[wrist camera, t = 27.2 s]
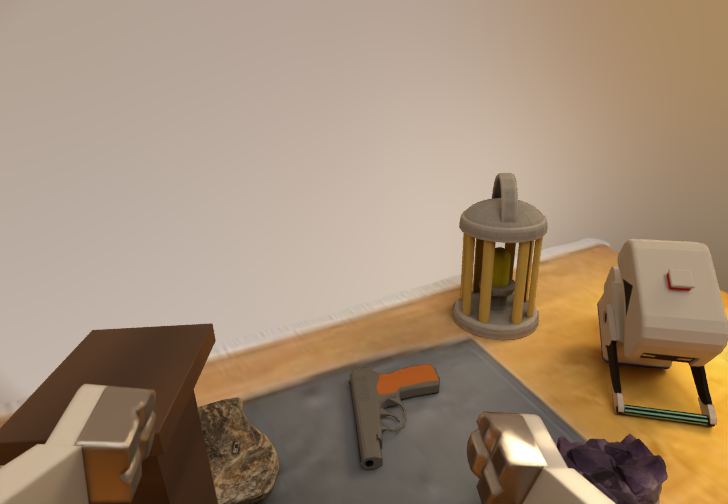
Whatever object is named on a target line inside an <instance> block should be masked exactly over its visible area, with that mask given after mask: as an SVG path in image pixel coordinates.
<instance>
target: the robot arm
mask: <svg viewBox="0 0 728 504" xmlns="http://www.w3.org/2000/svg"><path fill="white" fill-rule="evenodd" d="M155 403H156V393H155V390H152V389H141V388H130V387H119V386H104V385H93V384H84V385H83V386H81V387H80V388H79V389H78V390H77V392H76V394H75V395H74V397H73V399H72V400H71V402H70V404H69V405H68V407H67V409H66V410H65V412H64V414H63V415H62V417H61V418H60V420H59V422H58V423H57V425H56V427H55V428H54V430H53V432H52V433H51V435H50V437H49V438H48V440H47V441H46V443H45V444H37V445H35V446H34V447H32V448H30V449H29V450H27V451H26V452H24V453H23V454H21V455H20V456H18V457H17V458H15V459H13V460H12V461H10V462H9V463H7V464H6V465H4V466H3V467H1V468H0V504H89V503H132V500H133V497H134V494H135V492H136V489H137V486H138V484H139V481H140V478H141V475H142V465H141V462H142V461H144V460H145V459H146V458H147V457H148V456H149V453H150V450H151V447H152V444H153V440H154V436H155V430H156V414H155V413H154V412H153V411H152V410H153V408H154V405H155ZM476 422H477V424H478V427H479V428H478V429H476V430H475V431H474V432H472V433H471V435H470V437H469V440H468V444H467V457H468V462H469V466H470V469H471V471H472V472H473V473H474V474H475V475H476V476H477V477H478V478H479V481H478V484H477V490H478V493H479V496H480V498H481V501H482V504H616V503H614V502H613V501H612V500H611V499H609V498H608V497H607V496H606V495H605V494H603V493H602V492H601V491H600V490H599V489H597V488H596V487H595V486H594V485H593V484H591V483H590V482H589V481H588V480H586V479H585V478H584V477H583V476H582V475H580V474H579V473H578V472H577V471H576V470H574V469H571V468H568V467H567V465H566V464H565V462H564V460H563V458H562V456H561V454H560V453H559V451H558V449H557V447H556V445H555V444H554V442H553V440H552V438H551V436H550V434H549V433H548V431H547V429H546V427H545V425H544V424H543V422H542V420H541V418H540V417H539V416H537V415H532V414H516V413H500V412H482V413H481V414H480V415H479V417H478V419H477V421H476Z"/></svg>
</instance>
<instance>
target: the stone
mask: <svg viewBox="0 0 728 504" xmlns="http://www.w3.org/2000/svg"><path fill="white" fill-rule="evenodd" d="M198 412H199V417H200V421H201V426H202V431H203V435H204V440H205V445H206V449H207V454H208V459H209V463H210V468H211V472H212V477H213V482H214V486H215V491H216V496H217V500H218V504H255V503H259V502H262V501H263V500H265V499H266V498H267V497H268V496H269V494H270V493H271V490H272V489H273V486H274V483H275V480H276V477H277V474H278V471H279V459H278V455H277V452H276V450H275V448H274V445H273V444H272V443H271V442H270V441H269V439H268V438H267V437H266V435H265V434H263V433H261V432H260V431H258V430H257V429H256V428H255V427H254V426H252V425H251V424H250V423H249V421H248V419H247V418H246V416H245V415H244V411H243V402H242V399H241V398H231V399H225V400H221V401H217V402H214V403H210V404H207V405H204V406H201V407H198Z"/></svg>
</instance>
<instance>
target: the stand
mask: <svg viewBox="0 0 728 504" xmlns="http://www.w3.org/2000/svg"><path fill="white" fill-rule="evenodd" d="M214 343H215V335H214V330H213V325H212V324H198V325H197V324H196V325H178V326H160V327H143V328H124V329H105V330H92V332H90V334H89V335H88V336H87V337H86V338H85V339H84V340H83V341H82V342H81V343H80V344H79V345H78V346H77V347H76V348H75V349H74V351H73V352H72V353H71V354H70V355H69V356H68V357H67V358H66V359H65V360H64V361H63V362H62V363H61V364H60V365H59V367H58V368H57V369H56V370H55V371H54V372H53V373H52V374H51V375H50V376H49V377H48V378H47V379H46V380H45V381H44V382H43V383H42V385H41V386H40V387H39V388H38V389H37V390H36V391H35V392H34V393H33V394H32V395H31V396H30V397H29V398H28V399H27V400H26V402H25V403H24V404H23V405H22V406H21V407H20V408H19V409H18V410H17V411H16V412H15V413H14V414H13V415H12V416H11V417H10V419H9V420H8V421H7V422H6V423H5V424H4V425H3V426H2V427H1V428H0V465H6V464H7V463H9V462H10V461H12V460H13V459H15V458H17V457H18V456H20V455H21V454H23V453H24V452H26V451H27V450H29V449H30V448H32V447H34V446H35V445H37V444H45V443H46V441H47V440H48V438H49V437H50V435H51V433H52V432H53V430H54V428H55V427H56V425H57V423H58V422H59V420H60V418H61V417H62V415H63V414H64V412H65V410H66V409H67V407H68V405H69V404H70V402H71V400H72V399H73V397H74V395H75V394H76V392H77V390H78V389H79V388H80V387H81V386H83V385H84V384H93V385H104V386H119V387H130V388H141V389H152V390H155V393H156V403H155V405H154V408H153V410H152V411H153V412H154V413H155V414H156V430H155V436H154V440H153V444H152V447H151V450H150V453H149V456H148V457H147V458H146V459H145V460H144V461H142V462H141V465H142V475H141V478H140V481H139V484H138V486H137V489H136V492H135V494H134V497H133V500H132V503H89V504H218V500H217V496H216V491H215V486H214V482H213V477H212V472H211V468H210V463H209V459H208V454H207V449H206V445H205V440H204V435H203V431H202V426H201V421H200V417H199V412H198V408H197V403H196V398H195V394H194V387H195V385H196V383H197V380H198V378H199V376H200V374H201V372H202V369H203V367H204V365H205V363H206V361H207V358H208V356H209V354H210V352H211V349H212V347H213V345H214Z"/></svg>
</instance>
